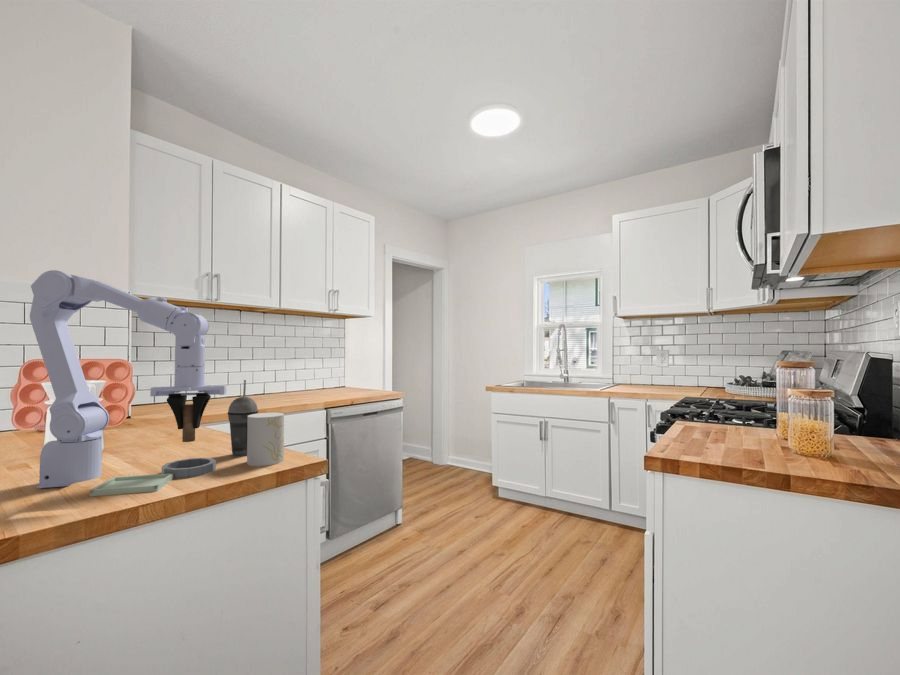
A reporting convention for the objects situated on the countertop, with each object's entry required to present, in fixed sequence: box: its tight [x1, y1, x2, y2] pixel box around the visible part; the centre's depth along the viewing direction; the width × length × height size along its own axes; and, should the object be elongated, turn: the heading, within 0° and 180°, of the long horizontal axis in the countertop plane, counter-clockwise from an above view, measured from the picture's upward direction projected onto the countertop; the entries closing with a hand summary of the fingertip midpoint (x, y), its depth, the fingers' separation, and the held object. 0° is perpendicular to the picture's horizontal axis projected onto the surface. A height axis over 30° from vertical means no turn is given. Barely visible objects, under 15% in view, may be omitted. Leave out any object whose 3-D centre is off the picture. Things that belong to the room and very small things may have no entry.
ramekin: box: [160, 457, 217, 480], centre depth 96 cm, size 10×10×3 cm
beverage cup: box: [227, 379, 259, 457], centre depth 113 cm, size 7×7×20 cm
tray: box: [89, 473, 174, 497], centre depth 86 cm, size 11×9×2 cm
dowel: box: [181, 403, 196, 443], centre depth 97 cm, size 2×2×8 cm
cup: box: [246, 412, 285, 467], centre depth 105 cm, size 8×8×12 cm
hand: (188, 428), depth 97 cm, fingers closed on dowel, 2 cm apart
